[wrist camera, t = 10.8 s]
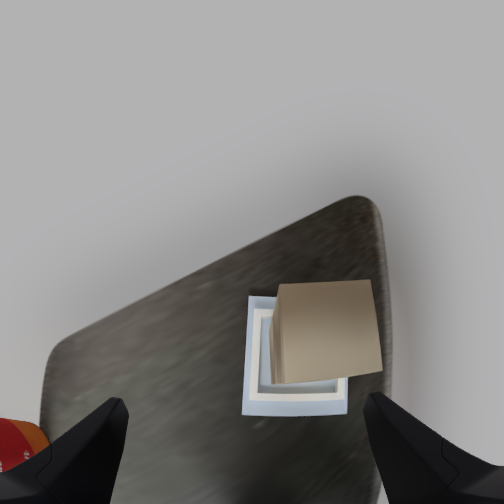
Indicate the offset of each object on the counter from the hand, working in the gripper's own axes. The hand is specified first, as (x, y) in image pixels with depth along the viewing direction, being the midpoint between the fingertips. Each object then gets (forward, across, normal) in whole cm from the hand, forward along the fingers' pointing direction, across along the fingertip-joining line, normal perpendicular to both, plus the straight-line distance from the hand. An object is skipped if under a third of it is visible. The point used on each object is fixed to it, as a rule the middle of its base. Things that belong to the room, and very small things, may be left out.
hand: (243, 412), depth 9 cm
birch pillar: (+11, -4, +7) cm, 14 cm away
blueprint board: (+12, -4, +7) cm, 14 cm away
